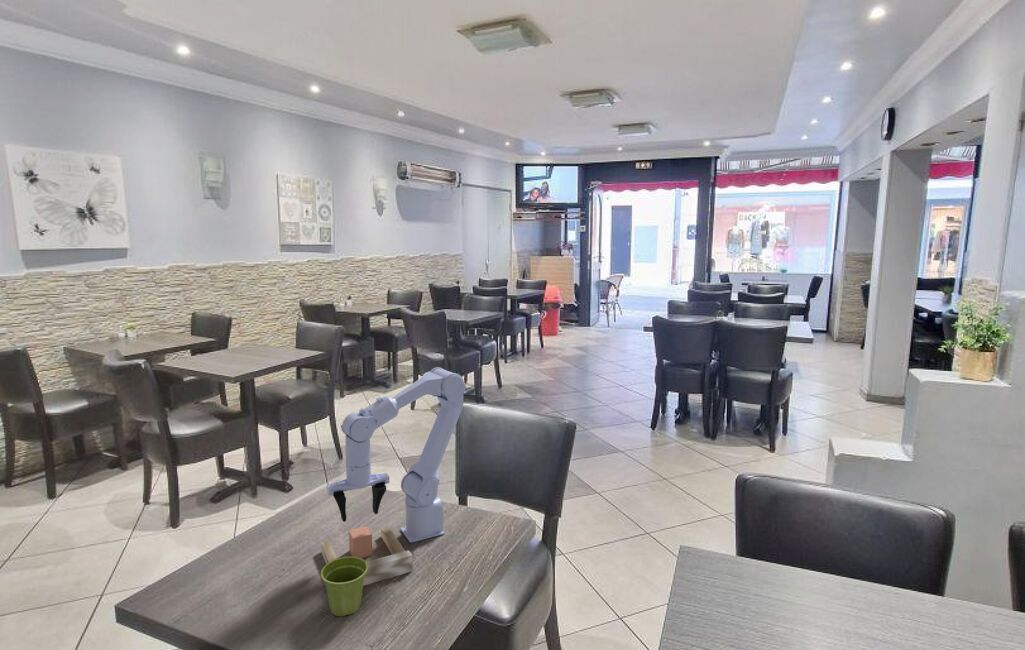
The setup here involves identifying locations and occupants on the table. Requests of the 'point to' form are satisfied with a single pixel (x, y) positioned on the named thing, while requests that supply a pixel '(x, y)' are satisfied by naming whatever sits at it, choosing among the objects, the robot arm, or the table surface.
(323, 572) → the plant pot
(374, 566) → the wooden u-shaped frame
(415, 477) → the robot arm
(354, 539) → the block
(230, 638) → the table surface
